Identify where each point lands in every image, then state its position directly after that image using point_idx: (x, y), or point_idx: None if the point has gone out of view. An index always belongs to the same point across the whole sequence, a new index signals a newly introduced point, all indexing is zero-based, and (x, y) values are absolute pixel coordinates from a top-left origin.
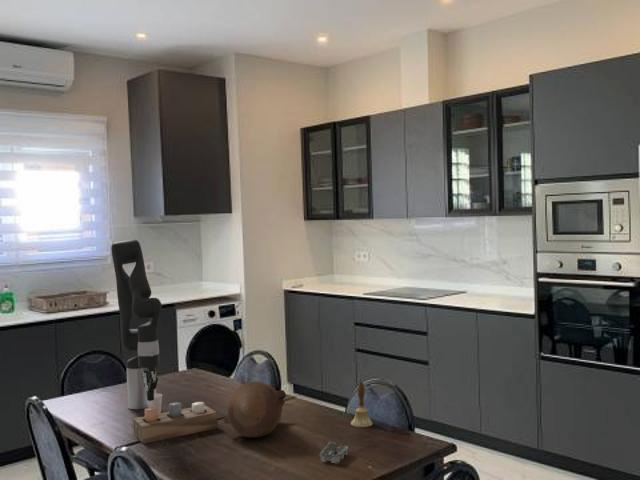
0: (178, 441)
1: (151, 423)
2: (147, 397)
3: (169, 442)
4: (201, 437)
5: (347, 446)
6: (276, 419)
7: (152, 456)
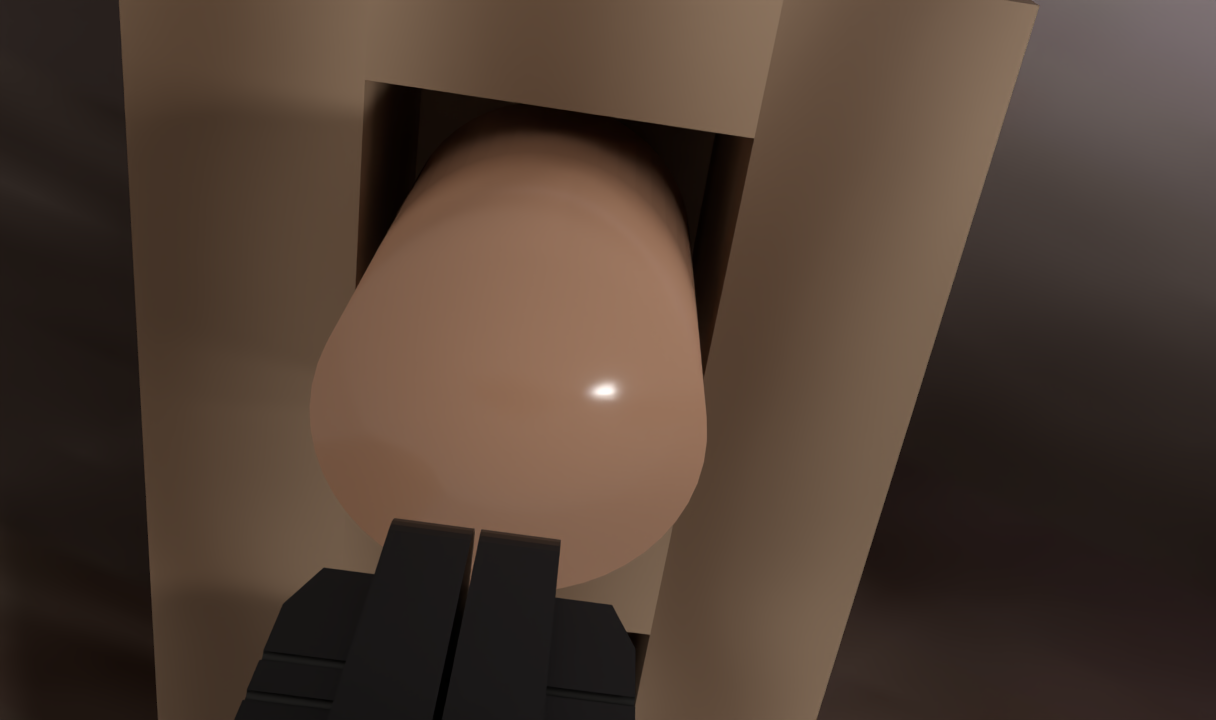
0: (15, 351)
1: (268, 167)
2: (428, 595)
3: (49, 230)
4: (5, 636)
5: None
6: None
7: None
